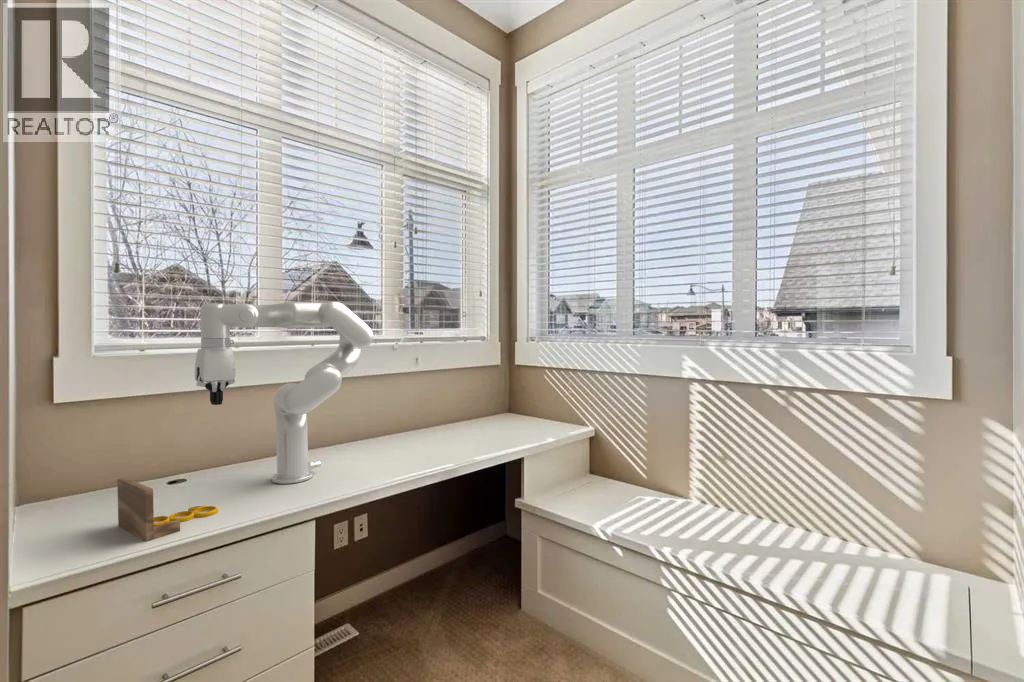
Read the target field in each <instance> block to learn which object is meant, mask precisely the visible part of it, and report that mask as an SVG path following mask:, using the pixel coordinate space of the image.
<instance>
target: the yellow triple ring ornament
mask: <svg viewBox="0 0 1024 682" xmlns="http://www.w3.org/2000/svg"><path fill="white" fill-rule="evenodd" d="M217 513H219V507H217V506H214V505H198V506H191V507H189V508H188V509H187V510H183V511H179V512H178V511H177V512H174V513H172V514H170V515H169V516H167V515H160V516H159V515H158V516H154V527H155V526H158V525H162V524H165V523H168V522H172V521H175V520H179V521H180V523H185V522H188V521H192V520H193V519H195V518H196V519H197V518H199V519H200V518H202V519H203V518H207V517H210V516H211V517H212V516H214V515H216V514H217Z"/></svg>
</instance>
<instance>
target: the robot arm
mask: <svg viewBox="0 0 1024 682" xmlns="http://www.w3.org/2000/svg"><path fill="white" fill-rule="evenodd" d="M199 311H200V312H199V313H200V348H198V349H197V352H196V357H195V364H194V380H195V381H196V386H197V387H202V388H205V389H206V390H207V391H208V392H209V402H210V404H211V405H214V406H218V405H222V404H223V401H224V392H225V390H226V388H227V387H228V386H230V385H233V384H235V382H236V380H235V378H236V361H235V355H234V351H233V349H232V347H231V346H232V345H234V344H235V341H234V340H233V339H231V336H230V335H231V333H230V332H231V330H230V329H231V328H230V327H235V328H238V329H243V328H246V329H247V328H280V329H281V328H283V329H297V328H298V329H302V328H307V329H308V328H332V329H334V330H335V331H336V332H337V333H338V334H339V343H338V346H337V348H336V350H335V351H334V352H332V353H331V354H330V355H329V356H328V357H326V358H324V359H323V360H321V361H320V362H319V363H317V364H315V365H314V366H312V367H311V368H309V369H308V371H306V373H305V375H304V379H303V380H301V381H300V382H299V383H295V382H293V383H292V382H291V383H290V382H289V383H284V384H283V385H281V386H280V387H278V389H277V390H276V391H275V394H274V399H273V400H274V401H273V403H274V405H273V406H274V414H275V429H276V431H275V435H276V439H275V440H276V441H275V442H276V446H275V447H276V449H275V450H276V473H275V474H273V475H272V476H271V482H272V483H275V484H281V485H287V484H295V483H296V484H297V483H301V482H305V481H308V480H310V479H312V478H313V477H314V472H313V471H312V470H313V469H315V468H319V467H321V465H322V462H321V461H320V460H317V461H314V462H313V461H309V443H308V441H309V440H308V439H309V438H308V437H309V435H308V433H309V432H308V430H309V428H308V427H309V425H308V413H309V412H311V411H313V410H314V409H315V408H317V407H318V406H320V405H321V404H322V403H323V402H325V401H326V400H328V399H329V398H330V397H332V396H333V395H334V394H335V393H336V392H337V391H338V390H339V389H340V388H341V385H342V383H343V382H342V381H343V377H344V376H346V375H347V374H348V373H350V372H351V371H352V369H354V368H355V367H356V366H357V365H358V362H359V361H360V358H361V354H362V349H366V348H368V347H370V345H372V343H373V340H374V332H373V330H372V329H371V327H370V326H368V324H367V323H365V322H364V320H362V319H361V318H360V317H358V315H356V314H355V313H354V312H353V311H351V310H350V308H348V307H347V306H346V305H344V304H343V303H341V302H339V301H329V302H305V301H304V302H302V301H301V302H295V301H294V302H293V301H291V302H282V303H276V304H251V303H250V304H249V303H246V302H243V303H233V304H226V303H217V302H216V303H213V302H210V303H208V302H207V303H203V304H202V305H201V306H200V310H199Z"/></svg>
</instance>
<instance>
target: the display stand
mask: <svg viewBox="0 0 1024 682" xmlns="http://www.w3.org/2000/svg"><path fill="white" fill-rule="evenodd" d="M116 482H117V484H116V485H117V519H118V521H117V523H118V525H117V526H118V527H119V528H120V529H123V530H124V531H126V532H129V533H131V534H132V535H134V536H136V537H138V538H140V539H141V540H143V541H146V542H149V541H152V540H155V539H158V538H161V537H165V536H169V535H170V534H171V535H172V534H175V533H178V532H180V531H181V522H180V521H179V520H175V521H172V522H168V523H165V524H162V525H158V526H155V527H154V523H155V522H154V517H155V516H154V515H155V514H154V489H153V488H152V487H150V486H148V485H145V484H142V483H139V482H138V481H135V480H133V479H129V478H127V477H121V478H117V480H116Z"/></svg>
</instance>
